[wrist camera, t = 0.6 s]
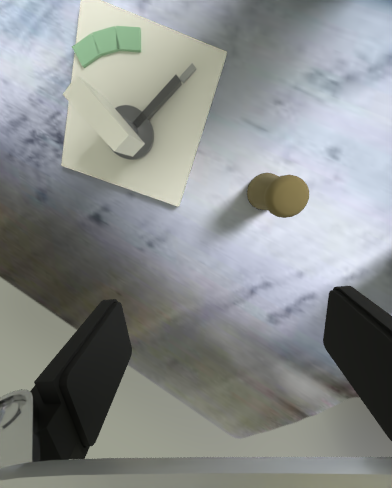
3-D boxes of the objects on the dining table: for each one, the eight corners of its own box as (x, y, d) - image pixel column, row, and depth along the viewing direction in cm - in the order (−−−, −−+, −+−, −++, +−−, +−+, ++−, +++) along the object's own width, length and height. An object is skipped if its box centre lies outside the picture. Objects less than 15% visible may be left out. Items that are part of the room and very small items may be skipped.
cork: (241, 203, 35) (257, 214, 25) (255, 167, 33) (278, 163, 23) (274, 214, 35) (302, 229, 25) (289, 179, 34) (328, 180, 23)
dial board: (87, 1, 27) (78, -12, 26) (226, 58, 29) (227, 49, 27) (66, 165, 34) (58, 165, 32) (179, 205, 36) (178, 207, 34)
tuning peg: (132, 169, 32) (100, 166, 22) (99, 132, 31) (49, 111, 21) (196, 103, 29) (191, 66, 19) (162, 59, 28) (139, -7, 18)
